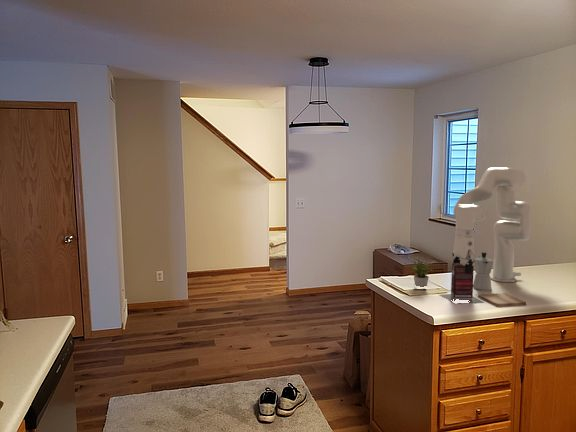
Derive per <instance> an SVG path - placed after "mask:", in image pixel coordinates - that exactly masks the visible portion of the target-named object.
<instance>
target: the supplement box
mask: <svg viewBox="0 0 576 432" xmlns="http://www.w3.org/2000/svg"><path fill="white" fill-rule="evenodd" d="M465 264H466V263H460V264H453V263H452V264H451V281H450V283H451V284H450V294H451V297H452V298H453V299H459V300H472V299H473V297H474V296H473V295H474V294H473V293H474V288H473V283H474V272H475V265H474V264H472V273H465Z"/></svg>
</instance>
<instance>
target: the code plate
mask: <svg viewBox="0 0 576 432" xmlns="http://www.w3.org/2000/svg"><path fill="white" fill-rule="evenodd" d="M440 295H441V297H442V298H444V299H445V298H446V300H447V299H448V300H447V301H449V302H451V303H452V301H453V298H452V297H451V293H444V294H440ZM451 300H452V301H451ZM455 300H456V299H454V301H455ZM469 301H470V302H469ZM469 301H468V302H469V304H483V303H485V301H484V300H483V301H482V299H480V298H478V297H475V296H473V299H472V300H469Z"/></svg>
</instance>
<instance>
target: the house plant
mask: <svg viewBox="0 0 576 432" xmlns="http://www.w3.org/2000/svg"><path fill="white" fill-rule="evenodd" d="M416 258H417V262H416V260H415V259H414V258H413V257H411V259H412V260H411V259H409V262H411V265H413V266H412V269H410V273H412V272H415V273H416V274H414V275H413V278H414V279H413V280H414V286H415V285H416V286H420V287H424V286H428V282H429V276H428V274H429V273H432V271H433V269H431V268H428V267H429V266H431V265H432V264H433V263H434V262H436V260H435V261H432V262H430V263H429V260H426V262H425V264H424V265H423V261H424V260H421V261H420V259H419V257H418V256H416ZM423 258H425V256H424V257H423ZM407 269H409V268H407Z"/></svg>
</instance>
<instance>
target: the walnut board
mask: <svg viewBox="0 0 576 432" xmlns="http://www.w3.org/2000/svg"><path fill="white" fill-rule="evenodd" d="M477 298H478V299H480V300H483V301H484V302H487V303H488V304H491V305H493V306H495V307H497V308H499V307H512V306H514V307H515V306H526V305H527V302H526V301H524V300H522V299H519V298H517V297H516V296H513V295H511V294H509V293H506V292H500V293H498V292H497V293H483V294H482V293H481V294H480V293H479V294H477Z"/></svg>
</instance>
